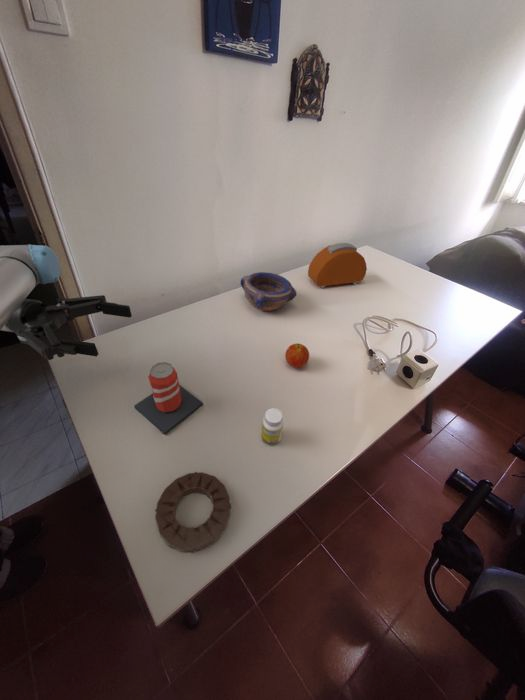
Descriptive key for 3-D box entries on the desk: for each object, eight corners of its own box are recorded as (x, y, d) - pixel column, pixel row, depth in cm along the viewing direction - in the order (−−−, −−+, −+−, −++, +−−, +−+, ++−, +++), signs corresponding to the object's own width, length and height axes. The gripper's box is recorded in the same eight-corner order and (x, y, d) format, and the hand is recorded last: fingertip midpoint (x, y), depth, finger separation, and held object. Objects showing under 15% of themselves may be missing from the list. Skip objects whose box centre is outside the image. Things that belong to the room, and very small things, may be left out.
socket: (191, 570, 53) (189, 567, 52) (142, 515, 59) (140, 511, 58) (244, 507, 61) (244, 502, 60) (197, 464, 67) (196, 460, 66)
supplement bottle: (268, 425, 76) (271, 403, 71) (284, 435, 74) (288, 413, 69) (257, 438, 73) (258, 416, 68) (273, 449, 71) (276, 427, 66)
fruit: (309, 359, 95) (313, 339, 90) (304, 374, 90) (308, 354, 85) (287, 354, 97) (290, 334, 92) (281, 368, 92) (284, 348, 87)
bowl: (298, 313, 115) (302, 289, 108) (253, 322, 109) (254, 297, 102) (278, 289, 127) (280, 267, 121) (236, 296, 121) (236, 273, 115)
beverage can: (165, 391, 81) (158, 357, 73) (186, 399, 80) (181, 366, 72) (150, 408, 77) (141, 373, 69) (172, 417, 75) (165, 383, 67)
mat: (165, 435, 72) (164, 432, 72) (134, 408, 78) (133, 405, 77) (203, 405, 80) (203, 402, 79) (173, 382, 85) (172, 379, 85)
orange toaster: (352, 274, 141) (362, 238, 131) (363, 284, 135) (374, 246, 124) (305, 280, 135) (312, 242, 124) (314, 290, 129) (322, 251, 118)
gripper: (63, 300, 78) (144, 312, 76) (-20, 367, 59) (84, 384, 58) (52, 273, 73) (138, 284, 72) (-43, 336, 54) (70, 354, 53)
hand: (114, 329), depth 65 cm, fingers open, 13 cm apart
